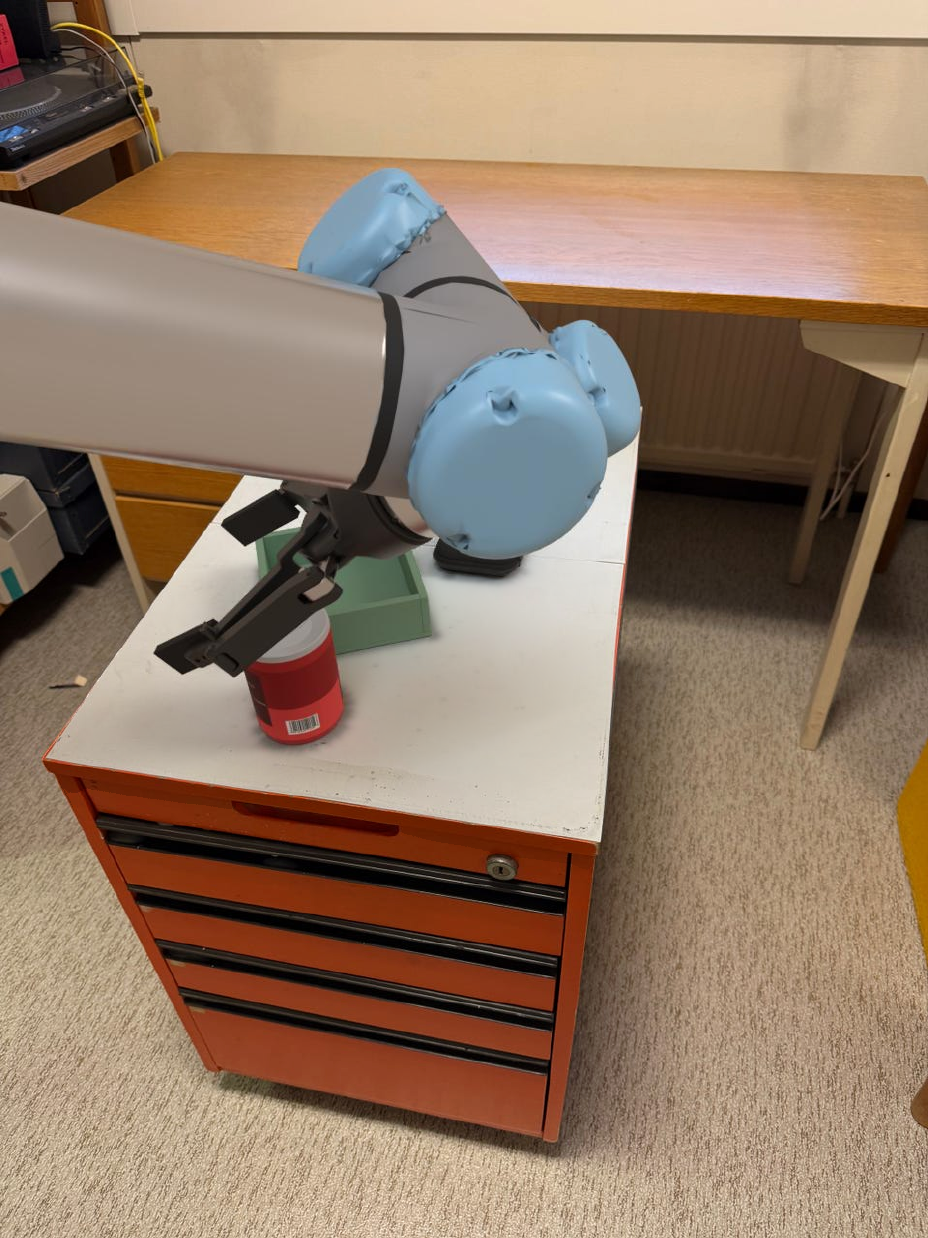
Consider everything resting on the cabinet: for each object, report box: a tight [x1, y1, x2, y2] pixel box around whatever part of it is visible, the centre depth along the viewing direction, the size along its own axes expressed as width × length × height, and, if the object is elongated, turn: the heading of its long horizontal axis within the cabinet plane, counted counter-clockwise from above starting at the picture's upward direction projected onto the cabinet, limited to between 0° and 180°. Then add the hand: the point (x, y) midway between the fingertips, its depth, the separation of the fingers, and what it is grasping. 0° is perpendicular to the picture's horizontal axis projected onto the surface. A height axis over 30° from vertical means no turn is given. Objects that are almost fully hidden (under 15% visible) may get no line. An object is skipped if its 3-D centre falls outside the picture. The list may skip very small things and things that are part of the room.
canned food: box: [243, 608, 345, 745], centre depth 77 cm, size 8×8×11 cm
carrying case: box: [432, 537, 524, 577], centre depth 99 cm, size 11×3×15 cm
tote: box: [254, 526, 432, 655], centre depth 91 cm, size 16×16×5 cm
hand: (203, 592), depth 68 cm, fingers open, 13 cm apart
